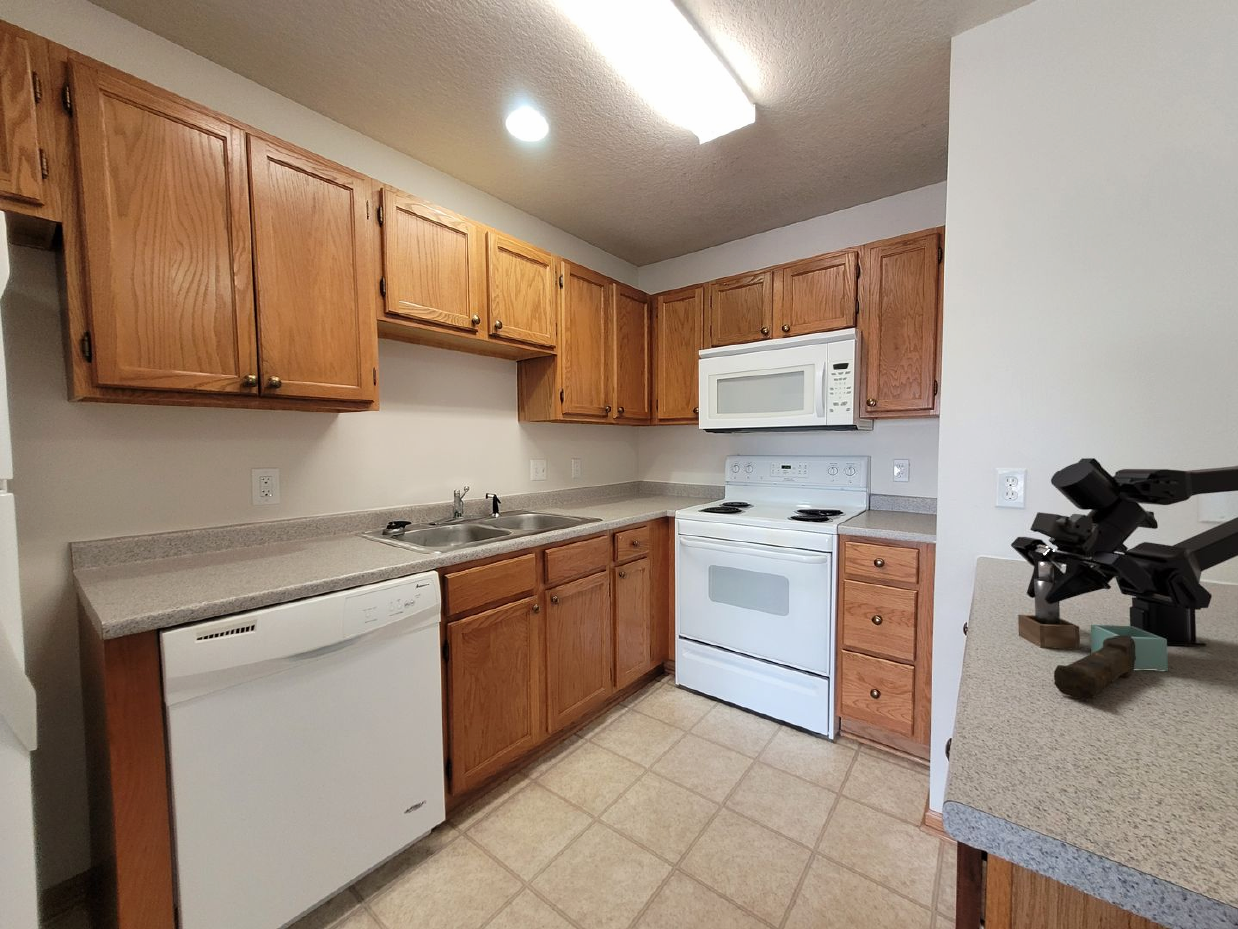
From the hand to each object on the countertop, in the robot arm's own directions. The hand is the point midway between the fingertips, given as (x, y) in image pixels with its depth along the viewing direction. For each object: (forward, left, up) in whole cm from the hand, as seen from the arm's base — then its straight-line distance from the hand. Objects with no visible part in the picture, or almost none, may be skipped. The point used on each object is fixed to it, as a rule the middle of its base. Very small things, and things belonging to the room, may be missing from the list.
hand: (1038, 598), depth 77 cm
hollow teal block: (-7, +7, -7) cm, 12 cm away
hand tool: (+2, +14, -7) cm, 16 cm away
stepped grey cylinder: (-1, 0, -7) cm, 7 cm away
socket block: (-1, 0, -7) cm, 7 cm away
